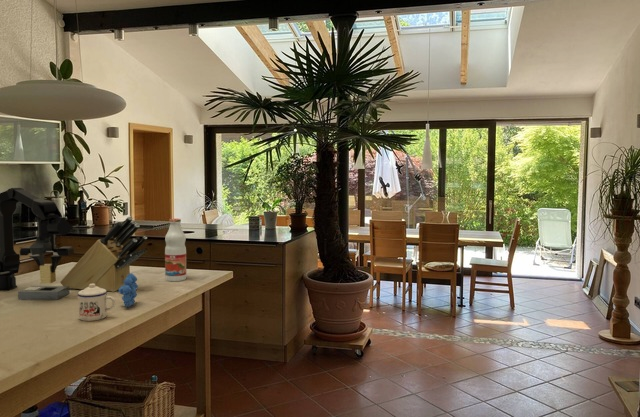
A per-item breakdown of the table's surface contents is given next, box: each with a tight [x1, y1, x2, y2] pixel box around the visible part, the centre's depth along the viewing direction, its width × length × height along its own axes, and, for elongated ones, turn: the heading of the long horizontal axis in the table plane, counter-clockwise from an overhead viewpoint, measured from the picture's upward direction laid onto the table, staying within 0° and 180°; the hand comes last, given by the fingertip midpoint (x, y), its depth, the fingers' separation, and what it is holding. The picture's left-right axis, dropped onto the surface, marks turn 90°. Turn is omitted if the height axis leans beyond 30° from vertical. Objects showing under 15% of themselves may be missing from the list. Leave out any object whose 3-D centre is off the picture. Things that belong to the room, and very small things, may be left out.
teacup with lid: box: [77, 284, 116, 322], centre depth 174 cm, size 12×9×12 cm
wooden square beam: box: [39, 263, 57, 284], centre depth 201 cm, size 4×4×7 cm
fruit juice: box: [164, 218, 187, 282], centre depth 233 cm, size 9×9×28 cm
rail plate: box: [17, 285, 71, 301], centre depth 202 cm, size 15×10×3 cm, turn 91°
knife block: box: [59, 215, 148, 293], centre depth 215 cm, size 11×35×31 cm, turn 78°
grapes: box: [117, 272, 139, 308], centre depth 189 cm, size 12×7×12 cm, turn 3°
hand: (47, 272), depth 201 cm, fingers closed on wooden square beam, 4 cm apart
